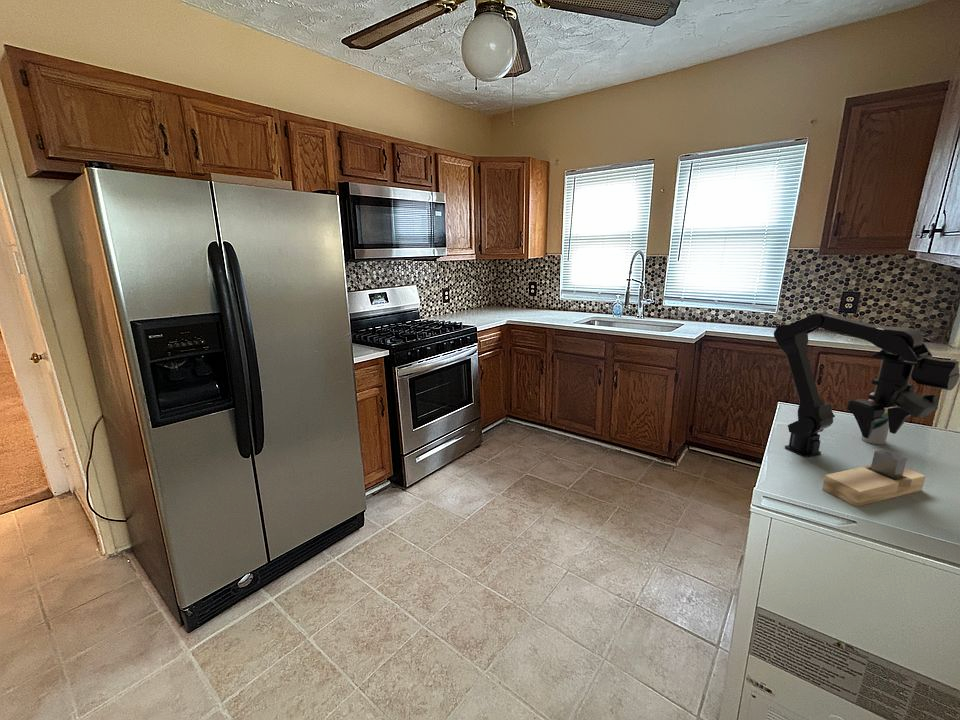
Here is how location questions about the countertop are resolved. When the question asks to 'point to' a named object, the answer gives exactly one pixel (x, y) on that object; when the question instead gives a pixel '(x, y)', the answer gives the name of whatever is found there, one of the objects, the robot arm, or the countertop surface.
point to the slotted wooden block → (870, 485)
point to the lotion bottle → (879, 429)
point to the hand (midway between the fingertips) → (879, 435)
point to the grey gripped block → (888, 464)
